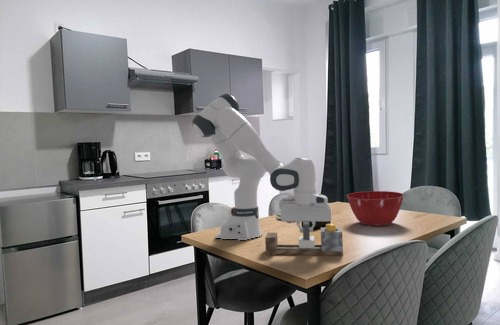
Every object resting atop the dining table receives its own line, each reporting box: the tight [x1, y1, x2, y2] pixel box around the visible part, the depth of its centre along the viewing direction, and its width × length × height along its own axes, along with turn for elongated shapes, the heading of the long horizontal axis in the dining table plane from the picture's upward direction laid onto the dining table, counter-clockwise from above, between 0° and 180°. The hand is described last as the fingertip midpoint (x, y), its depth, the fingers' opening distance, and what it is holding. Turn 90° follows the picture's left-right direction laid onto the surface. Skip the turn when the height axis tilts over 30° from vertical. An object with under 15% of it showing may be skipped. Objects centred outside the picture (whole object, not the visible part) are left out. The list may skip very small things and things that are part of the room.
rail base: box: [264, 226, 344, 256], centre depth 144 cm, size 30×8×9 cm, turn 80°
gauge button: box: [325, 223, 337, 231], centre depth 142 cm, size 4×4×4 cm
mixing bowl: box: [346, 190, 405, 227], centre depth 188 cm, size 28×28×15 cm
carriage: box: [298, 222, 316, 248], centre depth 144 cm, size 6×7×9 cm
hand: (306, 232), depth 144 cm, fingers closed on carriage, 2 cm apart
